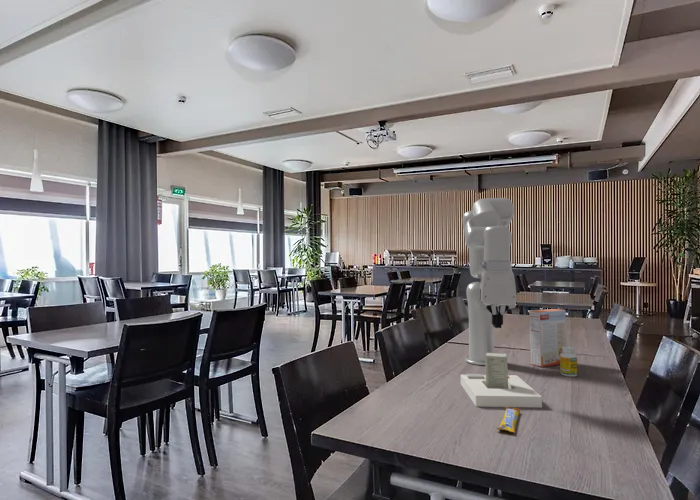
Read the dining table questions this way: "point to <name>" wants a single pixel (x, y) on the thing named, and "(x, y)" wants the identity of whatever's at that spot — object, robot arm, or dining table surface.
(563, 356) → the supplement bottle
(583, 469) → the dining table surface
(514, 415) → the candy bar
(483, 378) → the socket plate
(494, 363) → the skincare box
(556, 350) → the cracker box
